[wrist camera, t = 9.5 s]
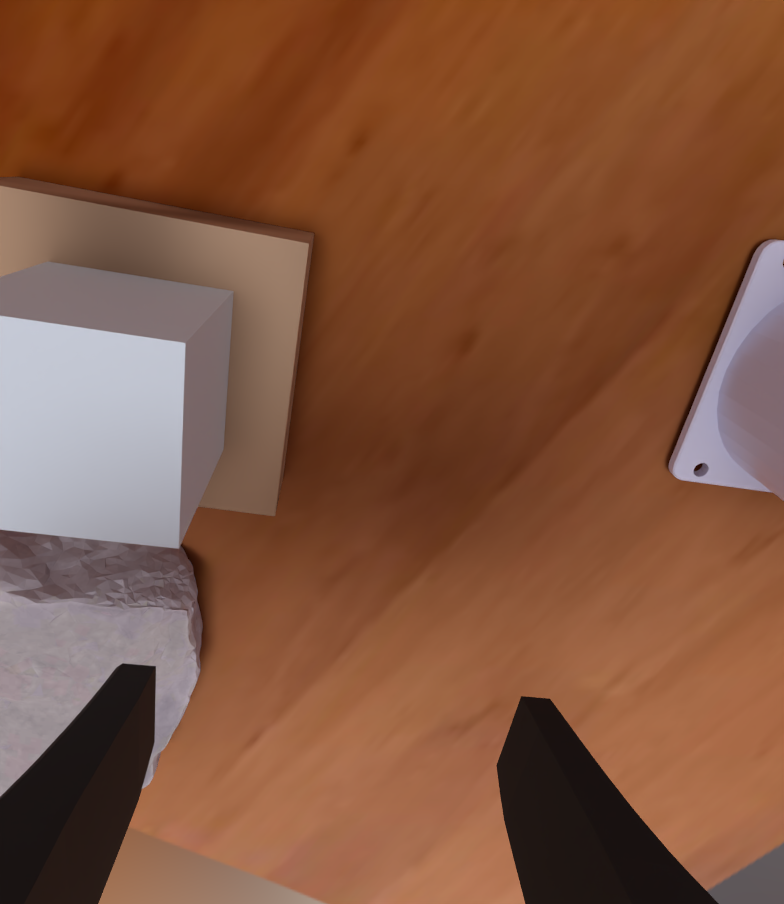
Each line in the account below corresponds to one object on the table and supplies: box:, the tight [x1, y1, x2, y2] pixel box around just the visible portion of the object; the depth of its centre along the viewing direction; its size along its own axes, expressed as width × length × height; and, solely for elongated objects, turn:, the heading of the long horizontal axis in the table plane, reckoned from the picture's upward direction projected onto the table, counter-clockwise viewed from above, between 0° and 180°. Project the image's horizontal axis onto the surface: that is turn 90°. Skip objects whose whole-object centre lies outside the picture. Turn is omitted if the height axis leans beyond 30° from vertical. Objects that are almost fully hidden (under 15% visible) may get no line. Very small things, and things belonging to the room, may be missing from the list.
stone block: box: [0, 530, 203, 796], centre depth 22 cm, size 12×5×10 cm
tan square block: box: [0, 177, 314, 516], centre depth 18 cm, size 8×8×3 cm
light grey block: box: [0, 262, 234, 549], centre depth 14 cm, size 4×4×5 cm
